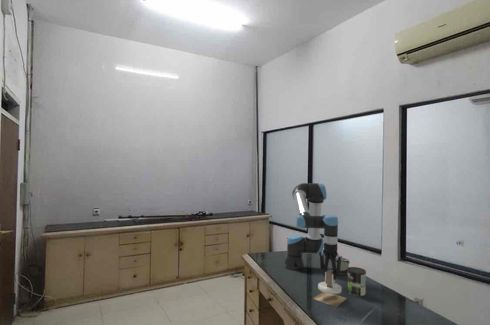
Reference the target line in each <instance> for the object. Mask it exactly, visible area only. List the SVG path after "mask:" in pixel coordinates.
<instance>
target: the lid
mask: <svg viewBox="0 0 490 325" xmlns="http://www.w3.org/2000/svg"><path fill="white" fill-rule="evenodd" d="M332 274H333V269H327V284H325V281H321V282H319V283H318V284H317V288H318V290H319V292H321V293H322V292H324V293H327V294H335V295H339V294H341V293H342V290H343V288H342V286H341V285H340V284H339V283H337V282H335V285H333V286H332Z"/></svg>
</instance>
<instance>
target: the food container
mask: <svg viewBox="0 0 490 325" xmlns="http://www.w3.org/2000/svg"><path fill="white" fill-rule="evenodd" d="M335 259H336V261H335V262H336V269H337V260H338V259H337V257H336V258H335ZM350 263H351V262H350V259H347V258H345V257H342V260H341V267H340V273H339V274H338V275H348V268H349V265H350Z"/></svg>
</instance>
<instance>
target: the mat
mask: <svg viewBox="0 0 490 325" xmlns="http://www.w3.org/2000/svg"><path fill="white" fill-rule="evenodd" d="M312 299H313V300H314V301H315V300H316V301H318V302H321V303H324V304H326V305H330V306H332V307H336V308H337V307H339V305H341V304H342V303H344V302H345V301H346V300H347V299H348V298H347V297H344V296H340V295H339V294H327V293H324V292H322V291H321V293H319V294H317V295H316V296H314V297H313V298H312Z"/></svg>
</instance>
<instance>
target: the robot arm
mask: <svg viewBox="0 0 490 325" xmlns="http://www.w3.org/2000/svg"><path fill="white" fill-rule="evenodd" d="M291 195H292V196H291V197H292V200H294V202H295V203H294V204H295V207H296V212H297V215H296V216H295V226H296V228H298V229H307V233H306V234H305V237H304V235H302V234H293V235H289V236H288V237H287V239H286V240H287V241H286V258H285V261H284V268H286V269H288V270H293V271H299V270H305V267H306V266H305V261H304V258H303V254H310V255H311V254H313V255H319V261H320V262H319V263H320V264H319V266H320V270H322V272H323V277H324V282H325V284H327V270H328V266H329V262H331V268H332V269H331V270H333V274H332V286H333V285H335V283H336V281H337V275H340V274H339V273H340V267H341V260H342V258H343V256H341V255H339V253H338V240H339V239H338V237H339V236H338V234H339V227H338V226H339V218H338V216H336V215H332V214H328V215H327V214H323V215H321V214H322V213H321V212H322V204H323V203H324V201H325V200H326V199H327V189H326V186H325V184H324V183H319V182H317V183H315V182H313V183H312V182H310V183H308V182H302V183H299V184H298V185H296V186H295V187H294V188H293V190H292V192H291ZM321 229H323V238H322V235H321V234H320V233H321V232H320V231H321ZM335 258H337V259H338V260H337V269H336V262H335V261H336V259H335Z"/></svg>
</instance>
